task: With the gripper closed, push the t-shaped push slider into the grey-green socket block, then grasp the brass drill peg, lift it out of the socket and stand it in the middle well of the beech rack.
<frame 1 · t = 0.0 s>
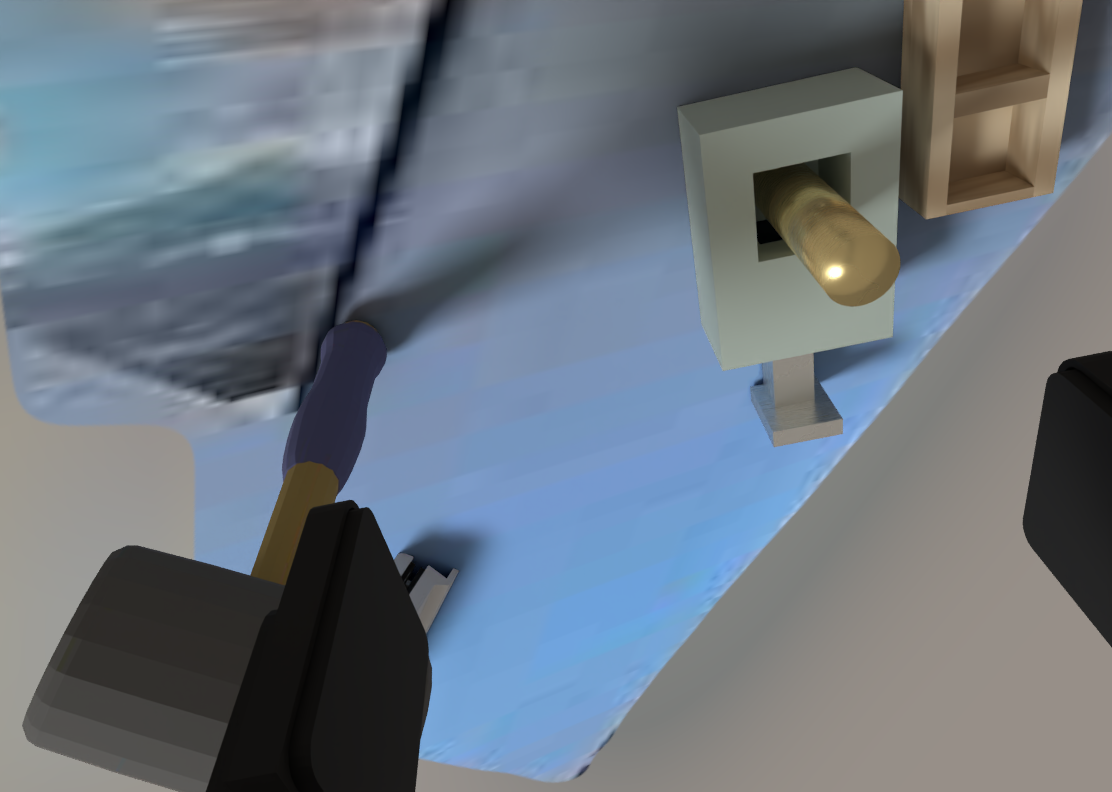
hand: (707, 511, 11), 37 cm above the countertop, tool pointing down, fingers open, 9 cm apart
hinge: (382, 619, 65), on the countertop
t-shaped push slider: (792, 365, 50), point 3 cm above the countertop, slide at 0.0 cm
rack: (967, 22, 42), on the countertop
rubber mallet: (359, 337, 51), on the countertop
socket block: (770, 174, 46), on the countertop
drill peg: (775, 179, 45), point 1 cm above the countertop, touching socket block
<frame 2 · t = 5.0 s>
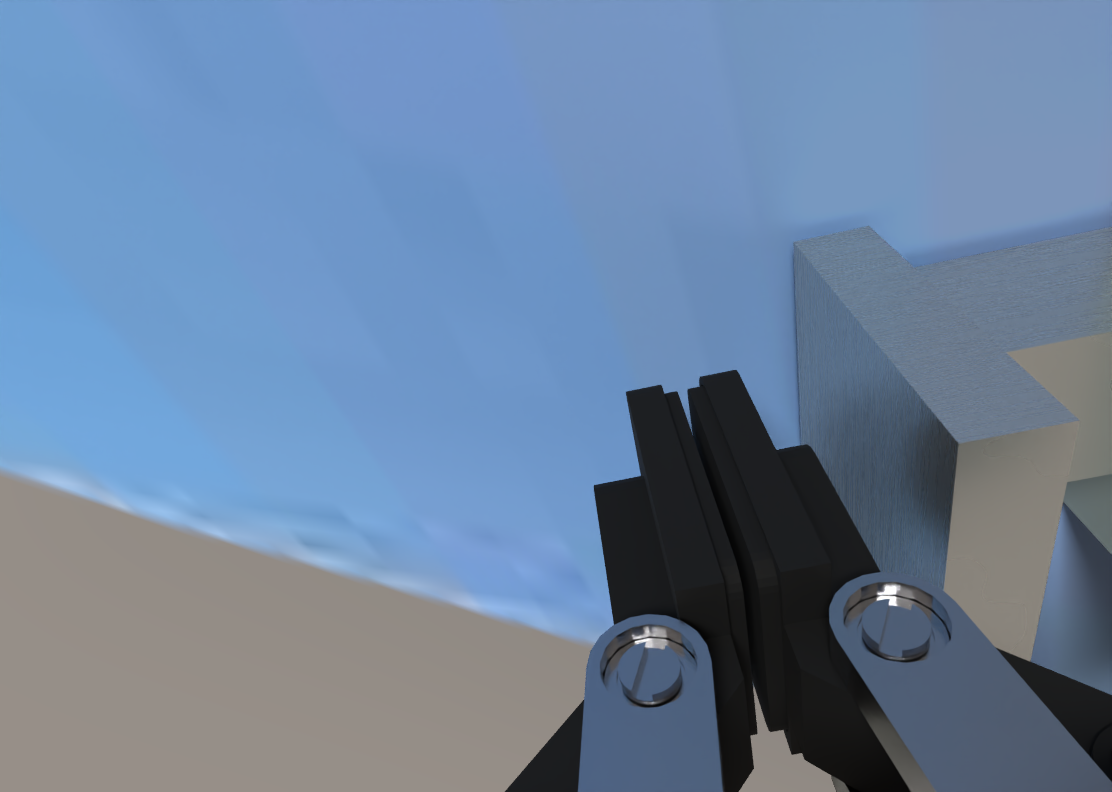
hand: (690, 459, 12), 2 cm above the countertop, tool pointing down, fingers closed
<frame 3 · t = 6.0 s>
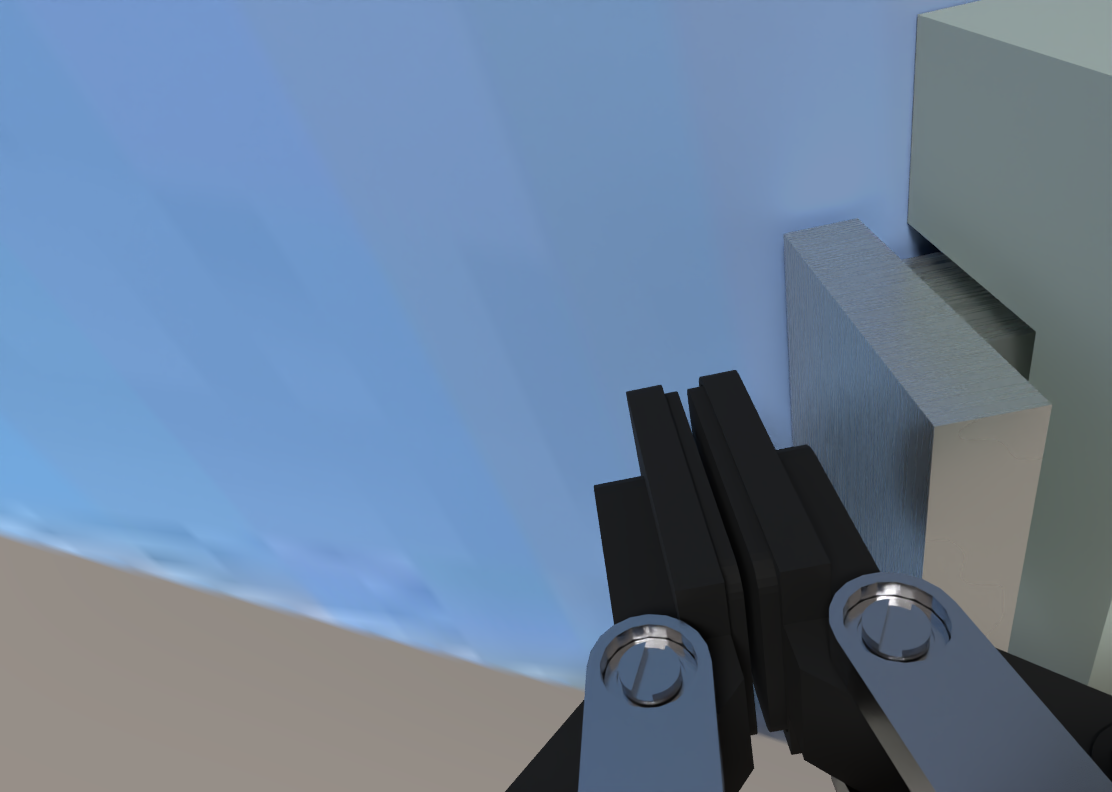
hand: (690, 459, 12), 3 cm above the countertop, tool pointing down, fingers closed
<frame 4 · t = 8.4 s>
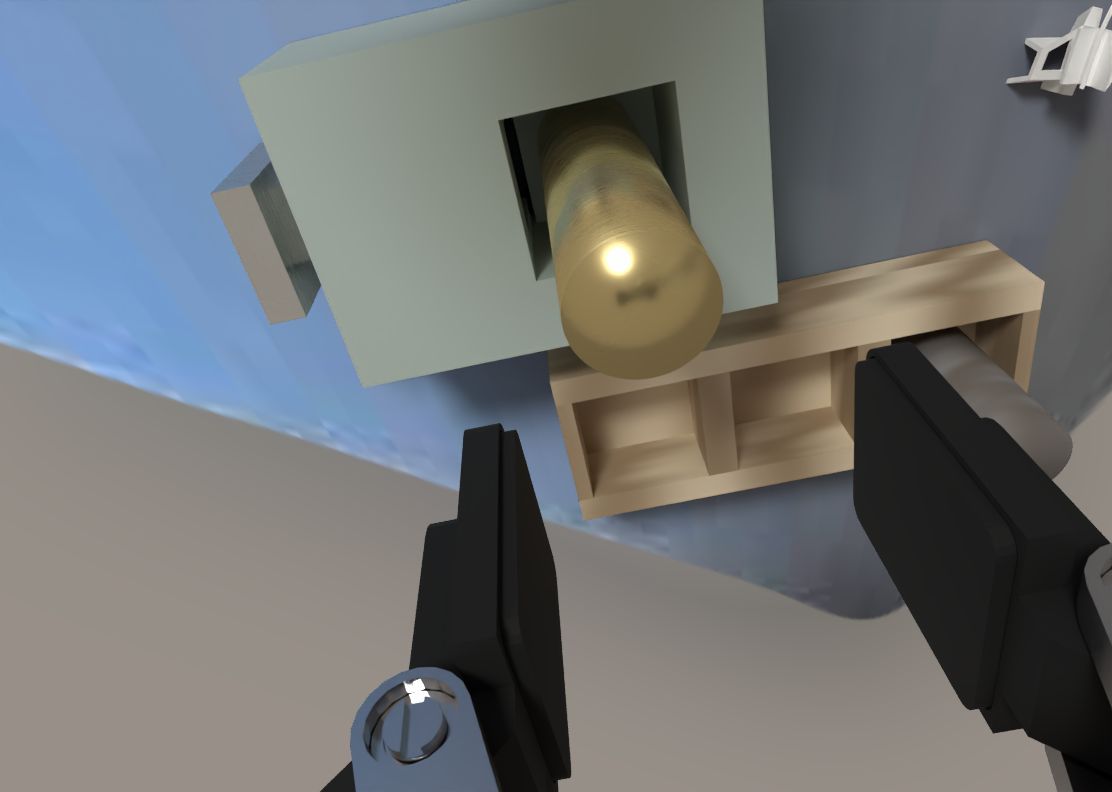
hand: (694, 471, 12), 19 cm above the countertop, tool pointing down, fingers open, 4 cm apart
adhesive hook: (1012, 38, 28), on the countertop
t-shaped push slider: (382, 204, 26), point 3 cm above the countertop, slide at 4.5 cm
rack: (766, 359, 34), on the countertop
socket block: (583, 134, 28), on the countertop
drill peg: (586, 141, 27), point 1 cm above the countertop, touching socket block
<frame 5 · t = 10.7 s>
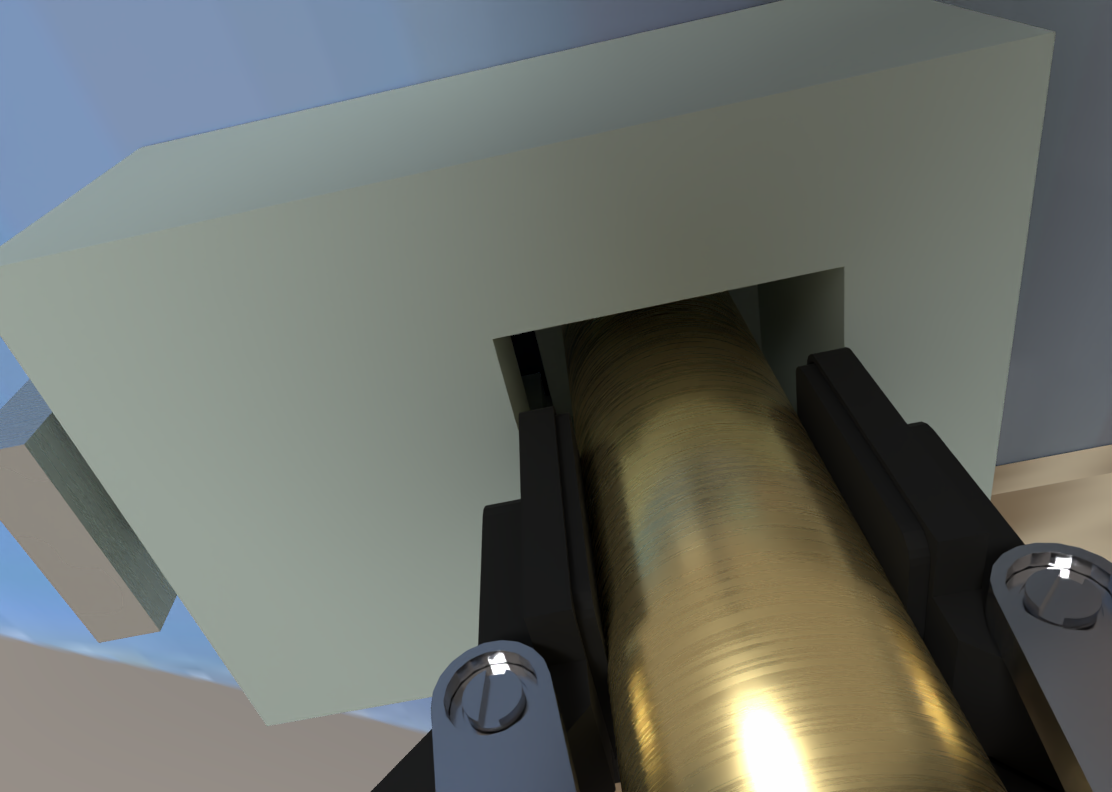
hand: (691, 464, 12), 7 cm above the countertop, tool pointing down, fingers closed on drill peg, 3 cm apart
t-shaped push slider: (298, 421, 15), point 3 cm above the countertop, slide at 4.5 cm
rack: (888, 575, 23), on the countertop
socket block: (632, 282, 17), on the countertop
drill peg: (639, 302, 16), point 1 cm above the countertop, touching gripper, socket block
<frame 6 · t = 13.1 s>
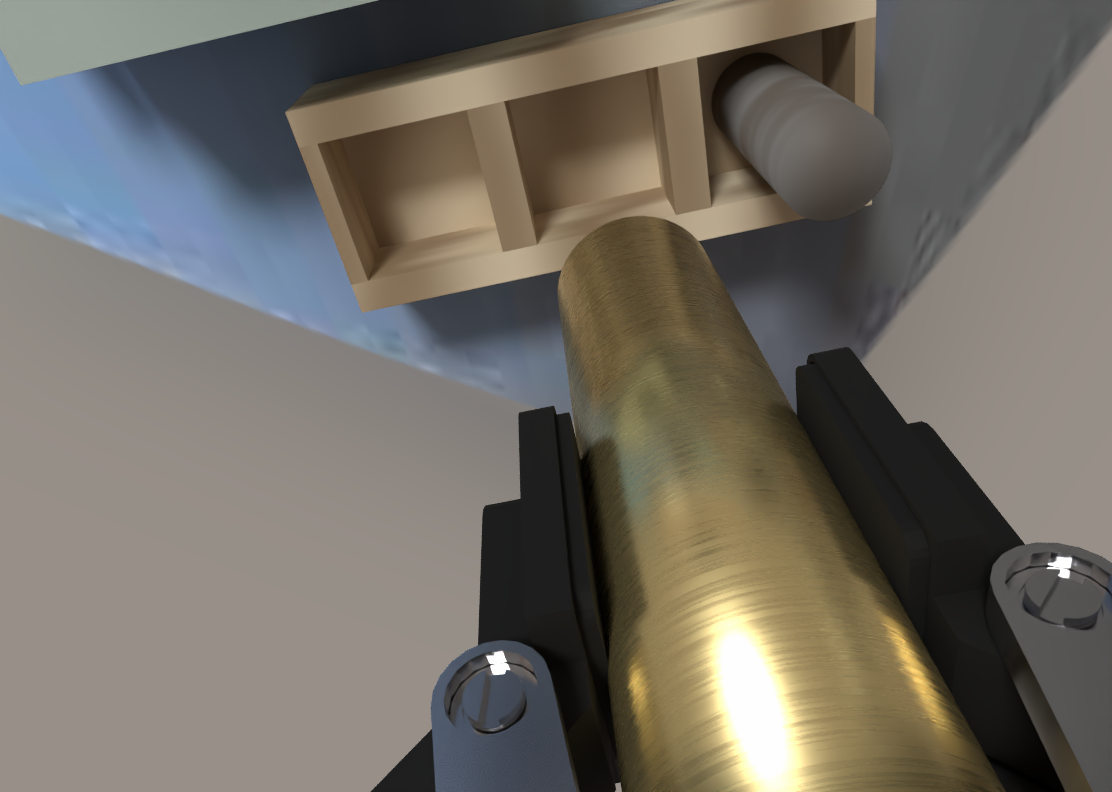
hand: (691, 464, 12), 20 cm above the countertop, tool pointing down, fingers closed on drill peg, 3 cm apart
rack: (583, 129, 28), on the countertop
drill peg: (635, 291, 17), point 14 cm above the countertop, touching gripper
when the fingers open (7 cm above the countertop, at t = 15.6 s): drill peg stays where it is, resting on rack.
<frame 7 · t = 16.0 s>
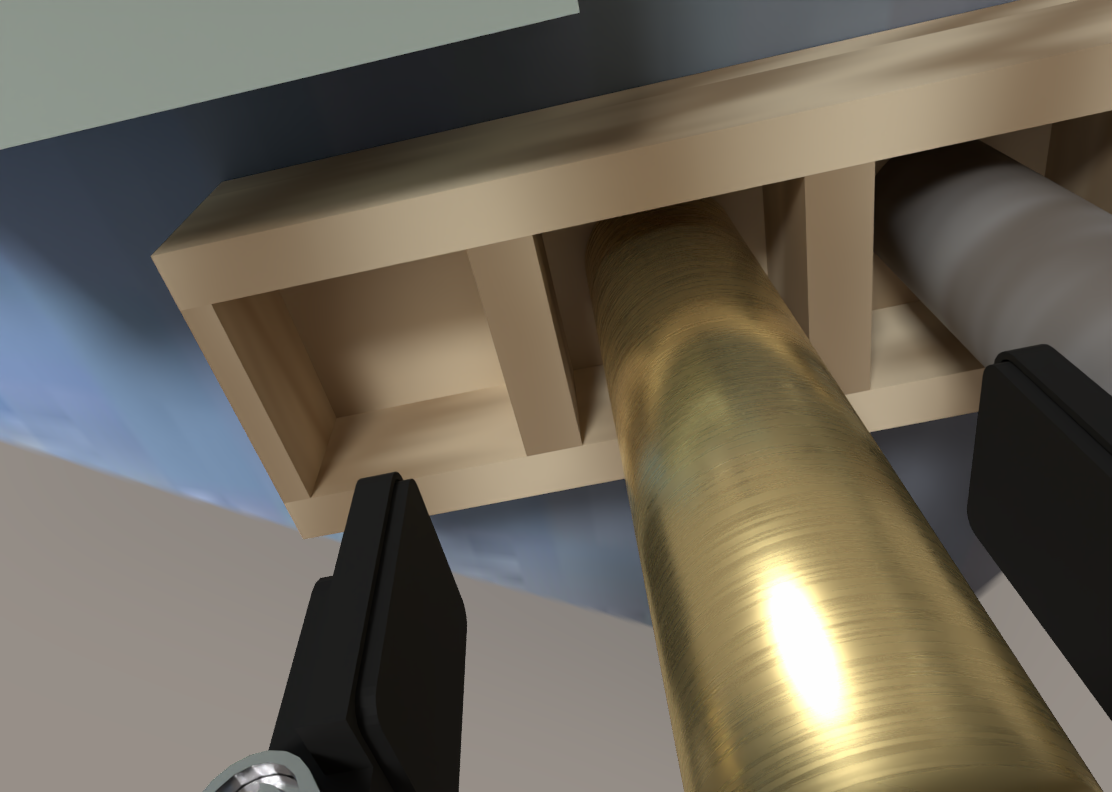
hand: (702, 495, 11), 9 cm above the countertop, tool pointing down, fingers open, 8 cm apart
rack: (651, 242, 18), on the countertop
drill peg: (660, 258, 17), point 1 cm above the countertop, touching rack
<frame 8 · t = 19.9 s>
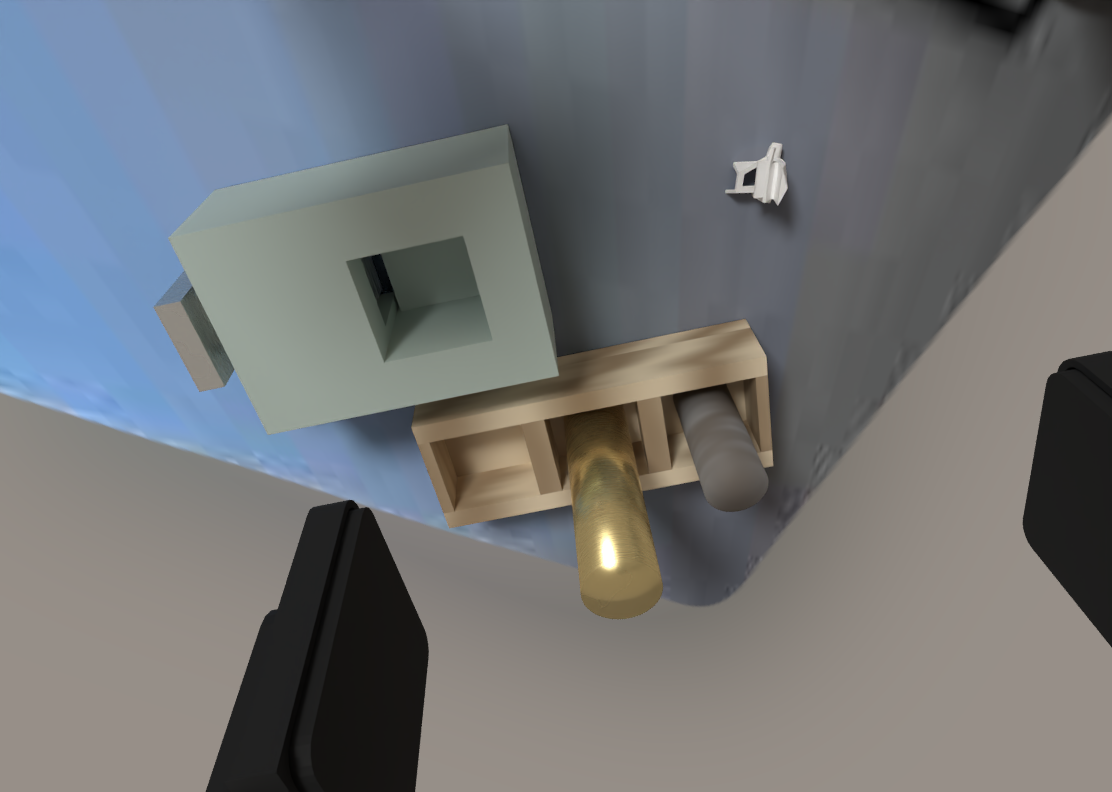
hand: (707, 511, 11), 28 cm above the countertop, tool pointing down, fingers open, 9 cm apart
adhesive hook: (727, 160, 38), on the countertop
t-shaped push slider: (281, 304, 36), point 3 cm above the countertop, slide at 4.5 cm
rack: (591, 405, 44), on the countertop
socket block: (432, 248, 38), on the countertop
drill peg: (593, 414, 43), point 1 cm above the countertop, touching rack
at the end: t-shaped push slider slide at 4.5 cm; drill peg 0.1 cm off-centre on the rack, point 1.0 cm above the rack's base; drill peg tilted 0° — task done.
